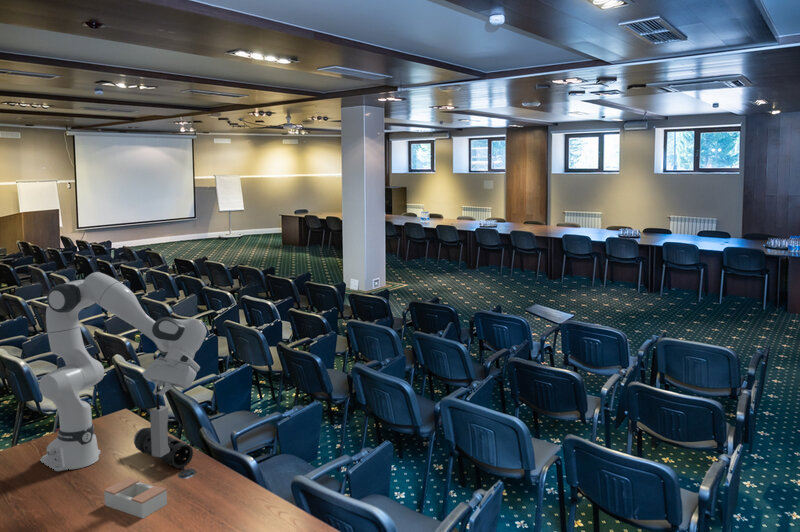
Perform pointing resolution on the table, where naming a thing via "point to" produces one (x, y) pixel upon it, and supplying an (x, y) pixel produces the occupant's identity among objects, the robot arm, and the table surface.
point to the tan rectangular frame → (135, 497)
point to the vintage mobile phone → (159, 430)
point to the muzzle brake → (176, 447)
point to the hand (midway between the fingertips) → (157, 394)
